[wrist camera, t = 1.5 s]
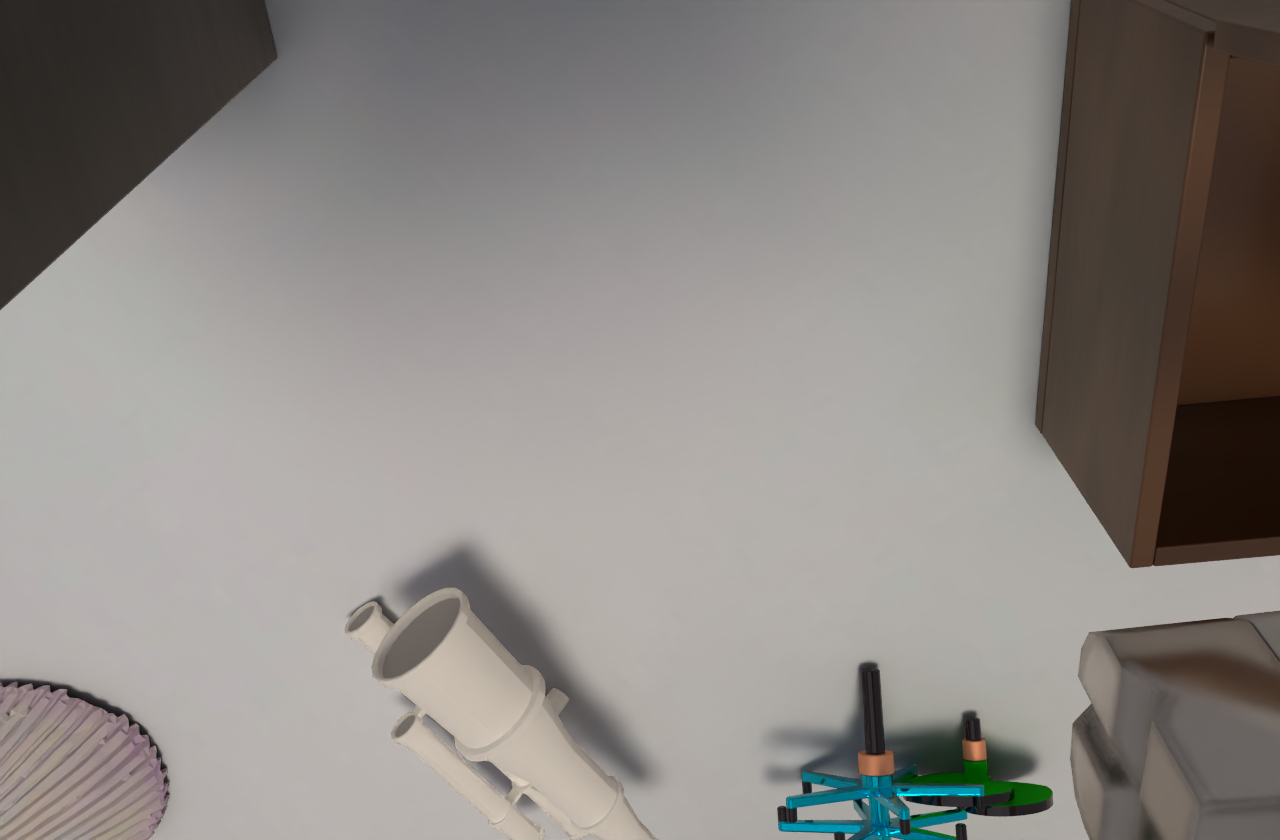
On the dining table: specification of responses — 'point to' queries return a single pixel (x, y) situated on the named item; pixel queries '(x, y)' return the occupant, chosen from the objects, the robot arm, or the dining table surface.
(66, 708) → the seashell
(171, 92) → the stand
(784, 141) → the dining table surface
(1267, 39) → the chest lid
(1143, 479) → the chest
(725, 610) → the dining table surface
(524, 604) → the dining table surface
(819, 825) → the stick construction toy
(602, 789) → the white tubular piece
